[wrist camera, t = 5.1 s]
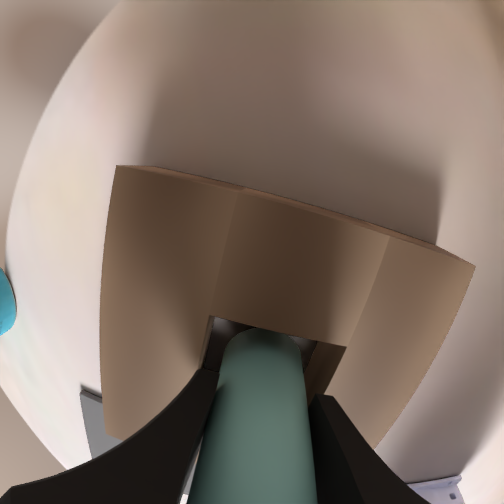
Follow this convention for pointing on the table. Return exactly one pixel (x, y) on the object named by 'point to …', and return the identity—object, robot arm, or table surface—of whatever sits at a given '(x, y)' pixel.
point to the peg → (257, 427)
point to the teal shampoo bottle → (6, 304)
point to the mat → (103, 429)
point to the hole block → (264, 295)
